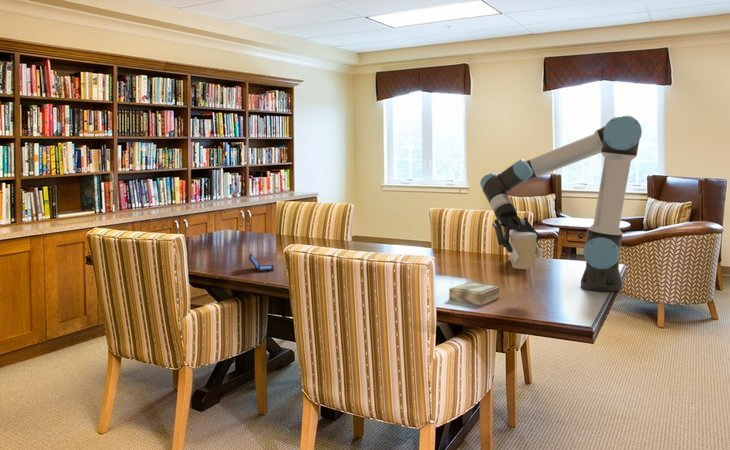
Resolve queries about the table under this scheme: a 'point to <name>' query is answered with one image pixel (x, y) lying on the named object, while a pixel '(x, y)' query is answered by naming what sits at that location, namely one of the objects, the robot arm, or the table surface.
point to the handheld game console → (260, 267)
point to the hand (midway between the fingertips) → (528, 257)
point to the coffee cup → (524, 249)
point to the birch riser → (474, 293)
